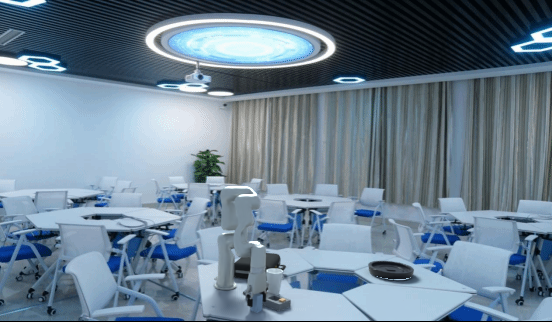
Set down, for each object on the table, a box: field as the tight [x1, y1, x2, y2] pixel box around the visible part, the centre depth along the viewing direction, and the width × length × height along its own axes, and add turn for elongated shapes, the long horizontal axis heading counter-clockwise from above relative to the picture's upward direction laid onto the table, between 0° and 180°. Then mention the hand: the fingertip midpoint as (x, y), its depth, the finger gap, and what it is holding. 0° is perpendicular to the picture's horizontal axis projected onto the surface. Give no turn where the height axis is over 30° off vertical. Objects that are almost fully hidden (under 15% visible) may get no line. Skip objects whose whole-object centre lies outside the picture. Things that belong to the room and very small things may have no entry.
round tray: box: [368, 260, 415, 279], centre depth 267 cm, size 30×6×30 cm
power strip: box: [242, 290, 291, 312], centre depth 209 cm, size 30×9×10 cm, turn 50°
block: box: [249, 293, 263, 314], centre depth 196 cm, size 4×4×8 cm
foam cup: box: [266, 268, 284, 296], centre depth 220 cm, size 10×9×13 cm
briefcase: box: [234, 252, 287, 282], centre depth 258 cm, size 36×32×10 cm
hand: (256, 303), depth 195 cm, fingers open, 9 cm apart
